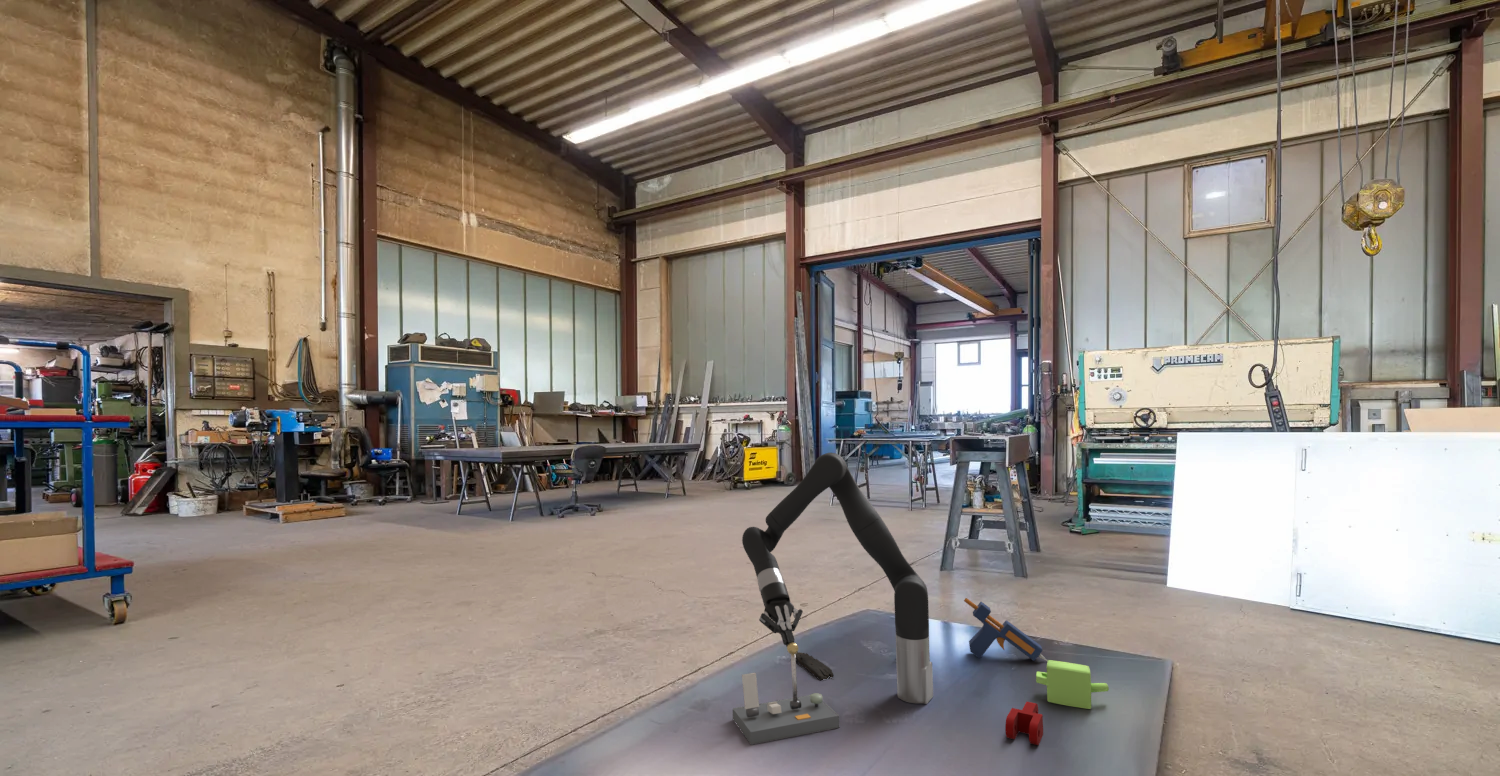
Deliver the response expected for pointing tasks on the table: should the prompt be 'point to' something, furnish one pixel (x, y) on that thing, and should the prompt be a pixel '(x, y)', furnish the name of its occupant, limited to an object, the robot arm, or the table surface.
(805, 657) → the wood
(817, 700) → the push button
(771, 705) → the white rocker switch
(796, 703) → the brass lever
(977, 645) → the glue gun
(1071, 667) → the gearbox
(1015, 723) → the mechanical linkage
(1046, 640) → the table surface
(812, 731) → the control panel
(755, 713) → the pale grey paddle
